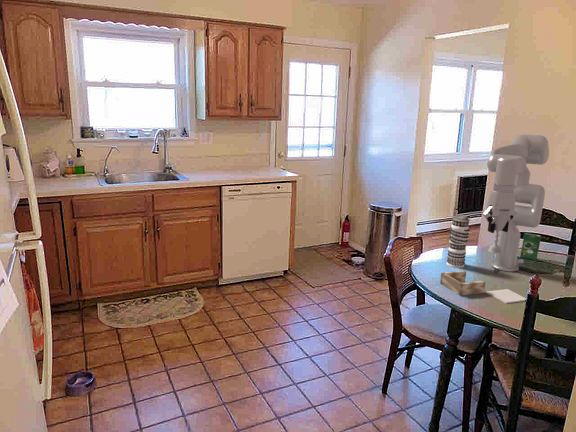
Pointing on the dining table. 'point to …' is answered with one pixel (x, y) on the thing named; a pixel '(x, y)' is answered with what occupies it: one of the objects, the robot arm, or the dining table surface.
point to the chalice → (499, 225)
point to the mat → (506, 296)
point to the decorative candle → (458, 241)
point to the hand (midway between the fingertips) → (497, 231)
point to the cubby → (454, 283)
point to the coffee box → (530, 246)
